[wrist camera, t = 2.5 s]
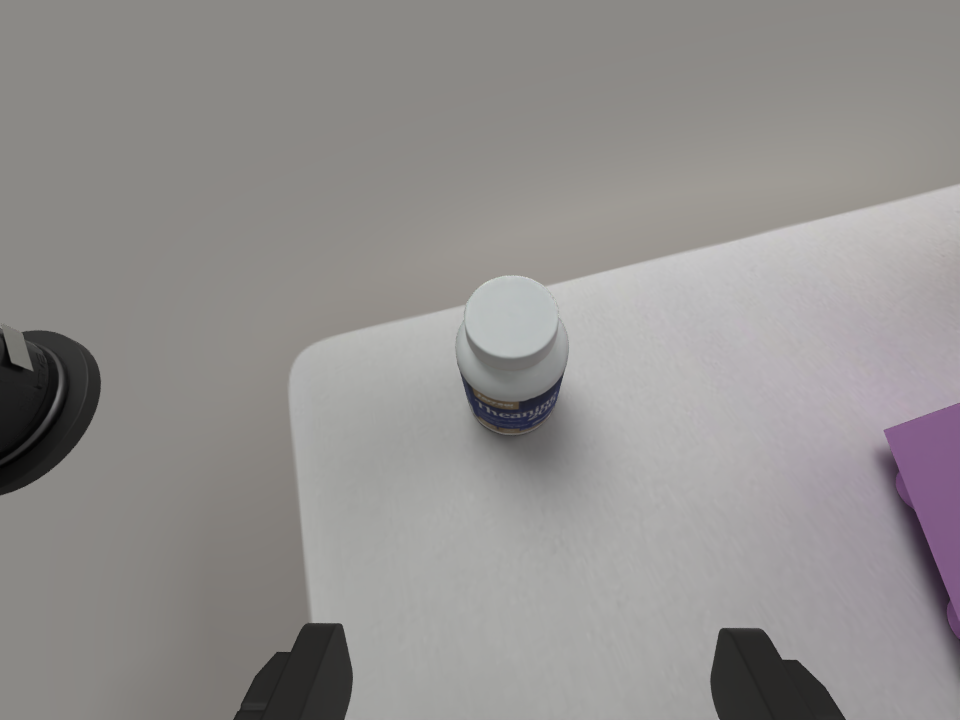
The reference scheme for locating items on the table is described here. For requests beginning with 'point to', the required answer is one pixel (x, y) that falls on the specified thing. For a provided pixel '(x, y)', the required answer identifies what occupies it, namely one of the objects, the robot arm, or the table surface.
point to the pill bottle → (512, 354)
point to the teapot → (934, 489)
